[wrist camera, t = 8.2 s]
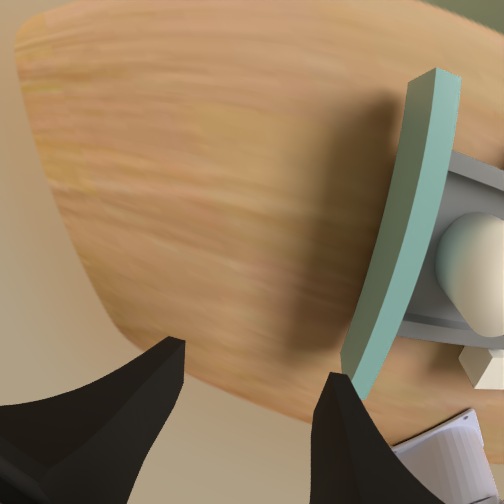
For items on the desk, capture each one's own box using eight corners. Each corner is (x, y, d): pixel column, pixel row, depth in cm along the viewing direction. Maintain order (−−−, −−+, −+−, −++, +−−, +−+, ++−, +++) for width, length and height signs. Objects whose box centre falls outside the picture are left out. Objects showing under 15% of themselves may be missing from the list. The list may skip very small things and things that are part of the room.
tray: (554, 150, 12) (595, 157, 8) (478, 368, 18) (498, 405, 14) (407, 82, 13) (436, 67, 10) (340, 351, 19) (344, 397, 15)
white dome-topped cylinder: (451, 315, 16) (477, 355, 12) (420, 243, 15) (448, 273, 11) (516, 269, 14) (552, 299, 11) (492, 193, 13) (534, 210, 10)
